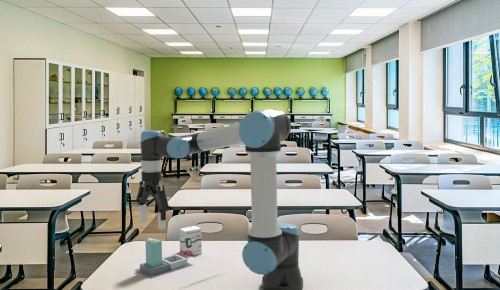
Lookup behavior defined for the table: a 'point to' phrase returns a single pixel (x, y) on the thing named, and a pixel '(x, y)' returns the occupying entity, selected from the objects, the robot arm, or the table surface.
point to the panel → (164, 266)
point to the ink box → (190, 241)
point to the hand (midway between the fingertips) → (152, 224)
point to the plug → (153, 253)
